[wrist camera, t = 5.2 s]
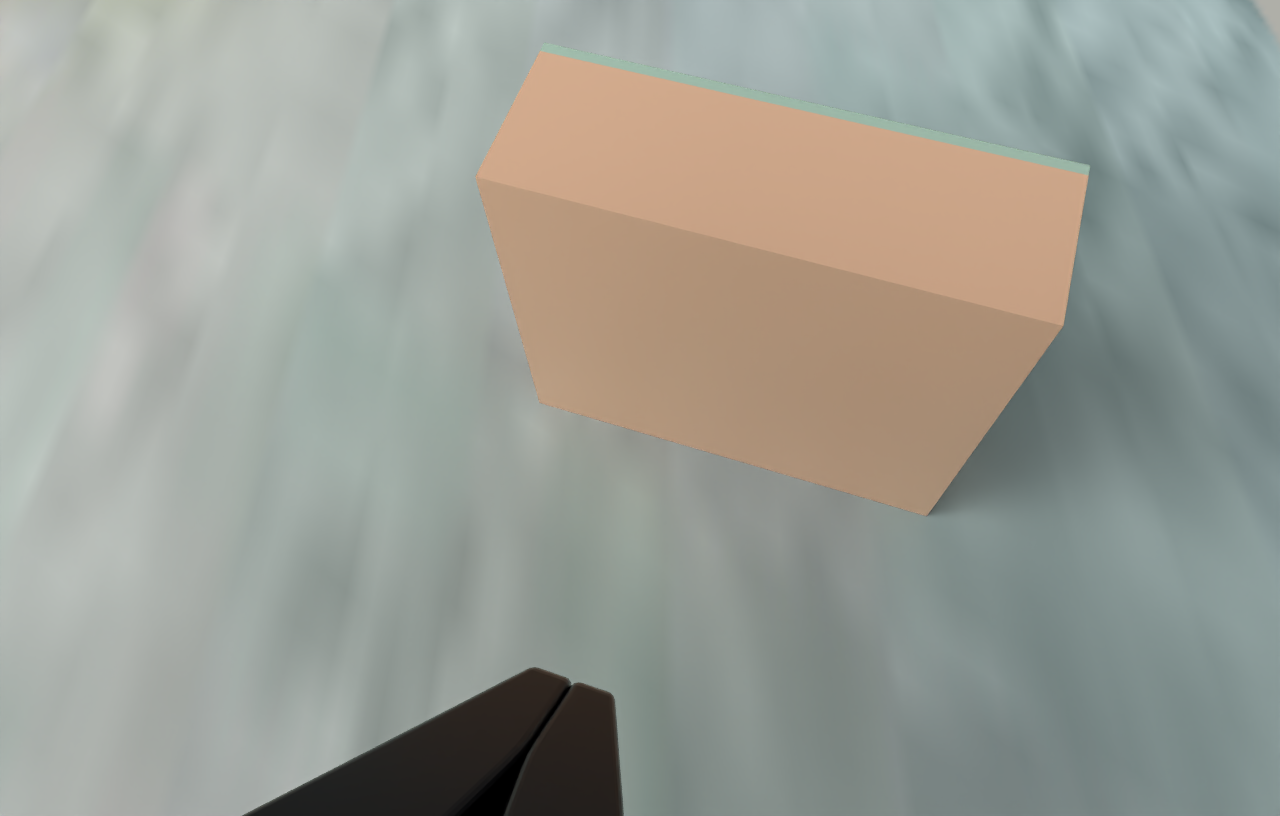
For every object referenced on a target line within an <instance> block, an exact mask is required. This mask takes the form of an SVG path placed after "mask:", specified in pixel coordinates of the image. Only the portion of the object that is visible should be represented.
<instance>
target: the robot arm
mask: <svg viewBox="0 0 1280 816" xmlns="http://www.w3.org/2000/svg"><path fill="white" fill-rule="evenodd" d="M242 816H624V811H623V798H622V785H621V773H620V760H619V747H618V734H617V721H616V708H615V699H614V696H613V695H612V694H611V693H609V692H607V691H604V690H601V689H598V688H595V687H592V686H589V685H586V684H584V683H579V682H578V683H574V684H573V685H572V686H571V682H570V680H569V679H568V678H566V677H563V676H560V675H557V674H555V673H552V672H549V671H546V670H543V669H540V668H536V667H534V668H529V669H527V670H525V671H523V672H521V673H519V674H517V675H515V676H513V677H511V678H509V679H507V680H505V681H503V682H501V683H499V684H497V685H496V686H494V687H492V688H490V689H488V690H486V691H484V692H482V693H480V694H478V695H476V696H474V697H472V698H470V699H468V700H466V701H464V702H462V703H460V704H459V705H457V706H455V707H453V708H451V709H449V710H447V711H445V712H443V713H441V714H439V715H437V716H435V717H433V718H431V719H429V720H427V721H425V722H423V723H422V724H420V725H418V726H416V727H414V728H412V729H410V730H408V731H406V732H404V733H402V734H400V735H398V736H396V737H394V738H392V739H390V740H388V741H387V742H385V743H383V744H381V745H379V746H377V747H375V748H373V749H371V750H369V751H367V752H365V753H363V754H361V755H359V756H357V757H355V758H353V759H351V760H350V761H348V762H346V763H344V764H342V765H340V766H338V767H336V768H334V769H332V770H330V771H328V772H326V773H324V774H322V775H320V776H318V777H316V778H314V779H313V780H311V781H309V782H307V783H305V784H303V785H301V786H299V787H297V788H295V789H293V790H291V791H289V792H287V793H285V794H283V795H281V796H279V797H278V798H276V799H274V800H272V801H270V802H268V803H266V804H264V805H262V806H260V807H258V808H256V809H254V810H252V811H250V812H248V813H246V814H244V815H242Z"/></svg>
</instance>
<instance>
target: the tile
mask: <svg viewBox="0 0 1280 816" xmlns="http://www.w3.org/2000/svg"><path fill="white" fill-rule="evenodd" d="M1089 169H1090V165H1086V164H1081V163H1077V162H1072V161H1068V160H1063V159H1059V158H1055V157H1050V156H1046V155H1041V154H1037V153H1032V152H1028V151H1024V150H1019V149H1015V148H1010V147H1006V146H1001V145H997V144H992V143H988V142H984V141H979V140H975V139H970V138H966V137H961V136H957V135H952V134H948V133H944V132H939V131H935V130H930V129H926V128H921V127H917V126H913V125H908V124H904V123H899V122H895V121H890V120H886V119H881V118H877V117H873V116H868V115H864V114H859V113H855V112H850V111H846V110H841V109H837V108H833V107H828V106H824V105H819V104H815V103H810V102H806V101H801V100H797V99H793V98H788V97H784V96H779V95H775V94H770V93H766V92H762V91H757V90H753V89H748V88H744V87H739V86H735V85H730V84H726V83H722V82H717V81H713V80H708V79H704V78H699V77H695V76H690V75H686V74H682V73H677V72H673V71H668V70H664V69H659V68H655V67H651V66H646V65H642V64H637V63H633V62H628V61H624V60H619V59H615V58H611V57H606V56H602V55H597V54H593V53H588V52H584V51H579V50H575V49H571V48H566V47H562V46H557V45H553V44H548V43H544V44H543V46H542V48H541V50H540V52H539V54H538V56H537V58H536V60H535V62H534V64H533V66H532V68H531V70H530V72H529V73H528V75H527V77H526V79H525V81H524V83H523V85H522V87H521V89H520V91H519V93H518V95H517V97H516V99H515V101H514V103H513V105H512V107H511V108H510V110H509V112H508V114H507V116H506V118H505V120H504V122H503V124H502V126H501V128H500V130H499V132H498V134H497V136H496V138H495V140H494V142H493V143H492V145H491V147H490V149H489V151H488V153H487V155H486V157H485V159H484V161H483V163H482V165H481V167H480V169H479V171H478V173H477V175H476V181H477V184H478V188H479V191H480V195H481V198H482V202H483V205H484V209H485V212H486V216H487V219H488V223H489V226H490V230H491V233H492V237H493V241H494V244H495V248H496V251H497V255H498V258H499V262H500V265H501V269H502V272H503V276H504V279H505V283H506V286H507V290H508V293H509V297H510V300H511V304H512V307H513V311H514V314H515V318H516V321H517V325H518V328H519V332H520V335H521V339H522V343H523V346H524V350H525V353H526V357H527V360H528V364H529V367H530V371H531V374H532V378H533V381H534V385H535V388H536V392H537V395H538V399H539V402H540V403H542V404H546V405H549V406H552V407H556V408H559V409H563V410H566V411H569V412H573V413H576V414H580V415H583V416H587V417H590V418H593V419H597V420H600V421H604V422H607V423H610V424H614V425H617V426H621V427H624V428H627V429H631V430H634V431H638V432H641V433H644V434H648V435H651V436H655V437H658V438H662V439H665V440H668V441H672V442H675V443H679V444H682V445H685V446H689V447H692V448H696V449H699V450H702V451H706V452H709V453H713V454H716V455H720V456H723V457H726V458H730V459H733V460H737V461H740V462H743V463H747V464H750V465H754V466H757V467H760V468H764V469H767V470H771V471H774V472H778V473H781V474H784V475H788V476H791V477H795V478H798V479H801V480H805V481H808V482H812V483H815V484H818V485H822V486H825V487H829V488H832V489H836V490H839V491H842V492H846V493H849V494H853V495H856V496H859V497H863V498H866V499H870V500H873V501H876V502H880V503H883V504H887V505H890V506H894V507H897V508H900V509H904V510H907V511H911V512H914V513H917V514H921V515H924V516H927V515H928V514H929V512H930V511H931V510H932V508H933V507H934V505H935V504H936V503H937V501H938V500H939V499H940V497H941V496H942V494H943V493H944V492H945V490H946V489H947V487H948V486H949V485H950V483H951V482H952V480H953V479H954V478H955V476H956V475H957V473H958V472H959V471H960V469H961V468H962V466H963V465H964V464H965V462H966V461H967V460H968V458H969V457H970V455H971V454H972V453H973V451H974V450H975V448H976V447H977V446H978V444H979V443H980V441H981V440H982V439H983V437H984V436H985V434H986V433H987V432H988V430H989V429H990V427H991V426H992V425H993V423H994V422H995V421H996V419H997V418H998V416H999V415H1000V414H1001V412H1002V411H1003V409H1004V408H1005V407H1006V405H1007V404H1008V402H1009V401H1010V400H1011V398H1012V397H1013V395H1014V394H1015V393H1016V391H1017V390H1018V388H1019V387H1020V386H1021V384H1022V383H1023V381H1024V380H1025V379H1026V377H1027V376H1028V375H1029V373H1030V372H1031V370H1032V369H1033V368H1034V366H1035V365H1036V363H1037V362H1038V361H1039V359H1040V358H1041V356H1042V355H1043V354H1044V352H1045V351H1046V349H1047V348H1048V347H1049V345H1050V344H1051V342H1052V341H1053V340H1054V338H1055V337H1056V336H1057V334H1058V333H1059V331H1060V330H1061V329H1062V327H1063V325H1064V319H1065V313H1066V307H1067V301H1068V295H1069V289H1070V283H1071V277H1072V271H1073V265H1074V259H1075V253H1076V247H1077V241H1078V235H1079V229H1080V223H1081V217H1082V211H1083V205H1084V199H1085V193H1086V187H1087V181H1088V175H1089Z"/></svg>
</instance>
